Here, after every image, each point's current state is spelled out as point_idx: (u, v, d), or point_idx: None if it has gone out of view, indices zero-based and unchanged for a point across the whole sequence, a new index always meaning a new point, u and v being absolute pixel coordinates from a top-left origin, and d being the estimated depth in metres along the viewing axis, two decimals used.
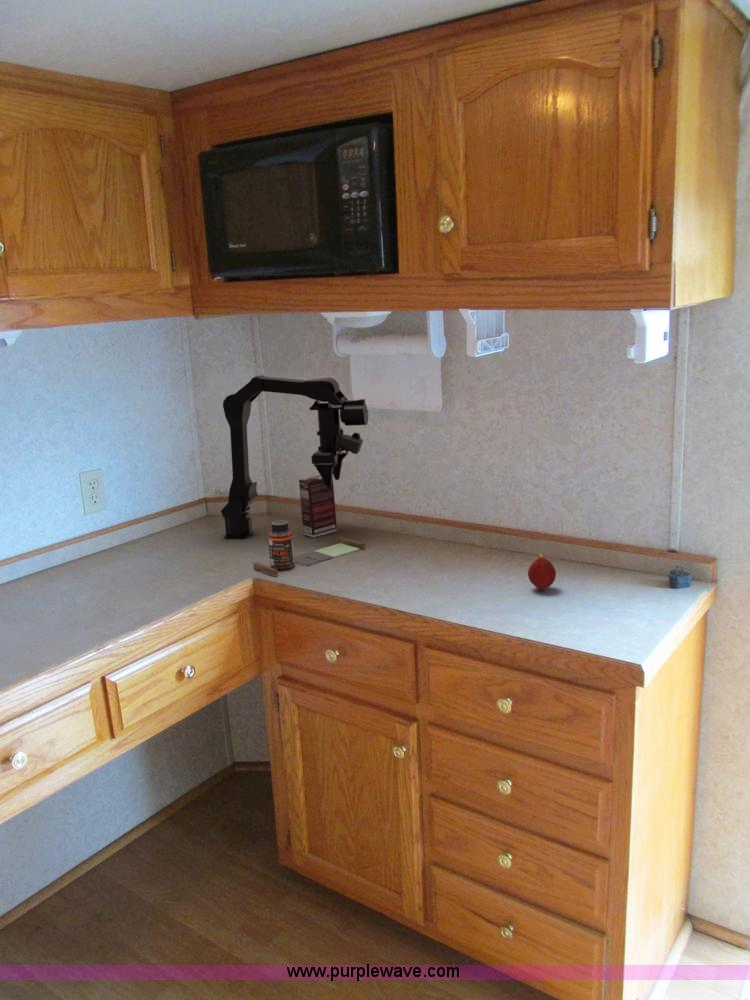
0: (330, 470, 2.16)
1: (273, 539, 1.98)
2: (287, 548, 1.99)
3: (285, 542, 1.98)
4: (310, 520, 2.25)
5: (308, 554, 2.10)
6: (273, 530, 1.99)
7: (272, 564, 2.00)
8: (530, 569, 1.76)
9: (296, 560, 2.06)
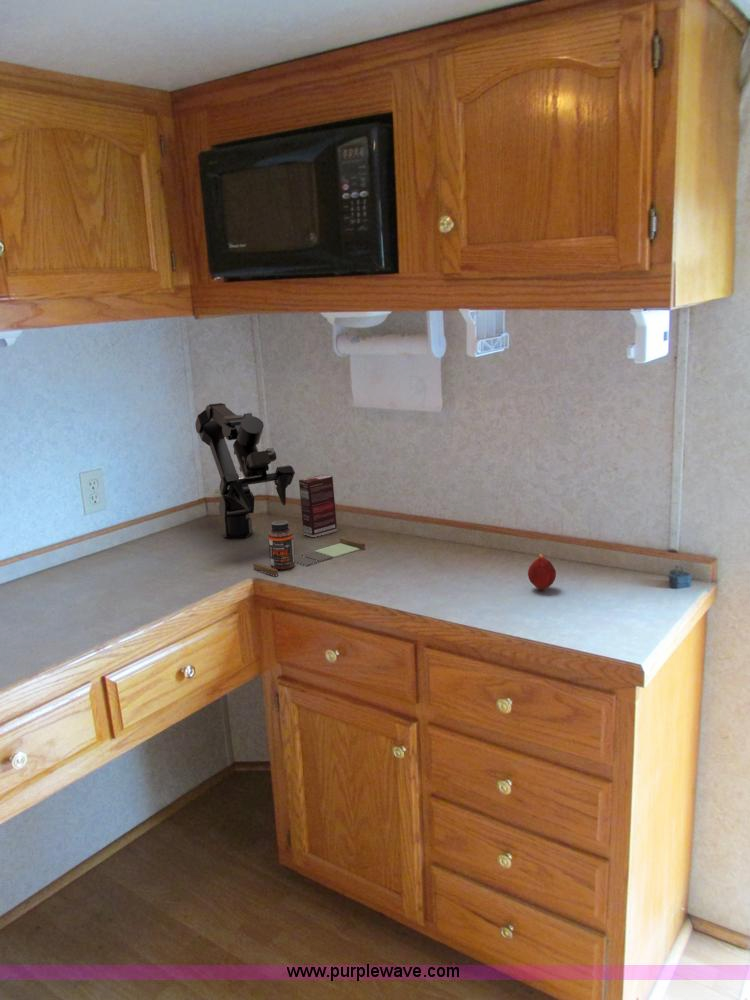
0: (238, 492, 2.05)
1: (273, 539, 1.98)
2: (287, 548, 1.99)
3: (285, 542, 1.98)
4: (310, 520, 2.25)
5: (308, 554, 2.10)
6: (273, 530, 1.99)
7: (272, 564, 2.00)
8: (530, 569, 1.76)
9: (296, 560, 2.06)
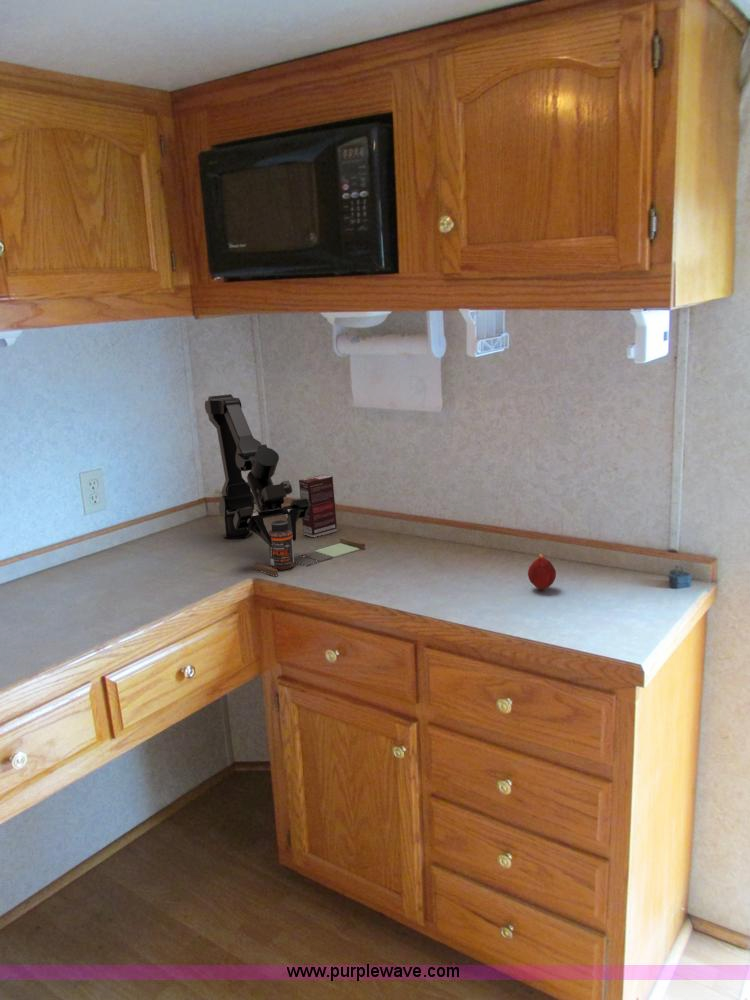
0: (258, 526, 1.99)
1: (273, 539, 1.98)
2: (287, 548, 1.99)
3: (285, 542, 1.98)
4: (310, 520, 2.25)
5: (308, 554, 2.10)
6: (273, 530, 1.99)
7: (272, 564, 2.00)
8: (530, 569, 1.76)
9: (296, 560, 2.06)
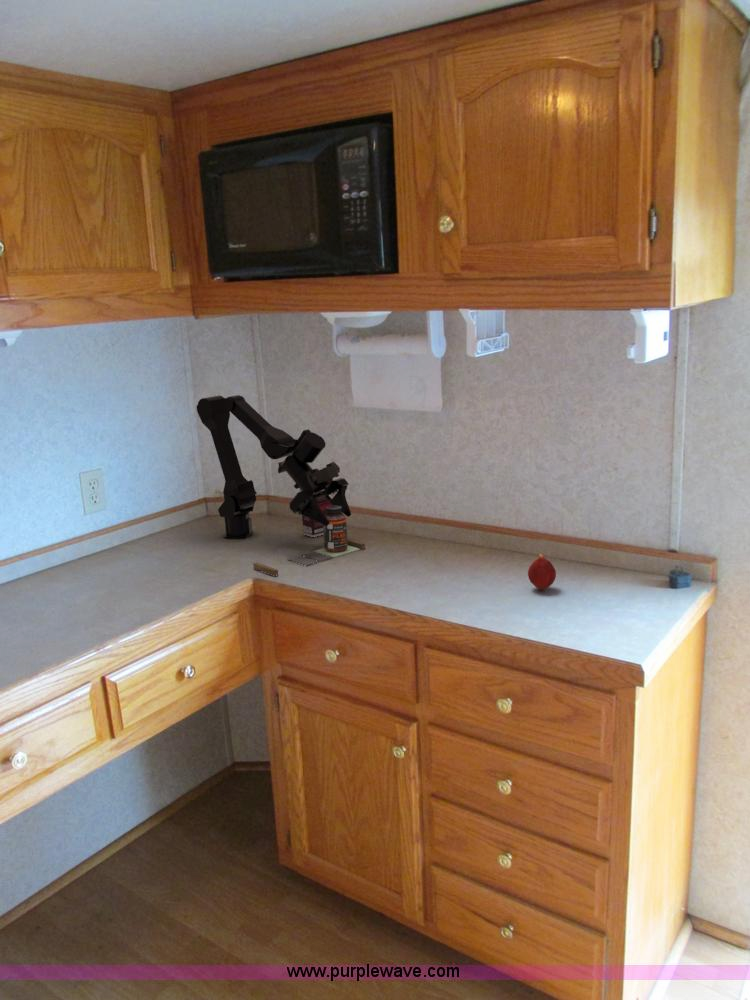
0: (314, 508, 2.06)
1: (333, 523, 2.08)
2: (345, 530, 2.10)
3: (344, 524, 2.10)
4: (310, 520, 2.25)
5: (308, 554, 2.10)
6: (331, 514, 2.09)
7: (331, 547, 2.10)
8: (530, 569, 1.76)
9: (296, 560, 2.06)
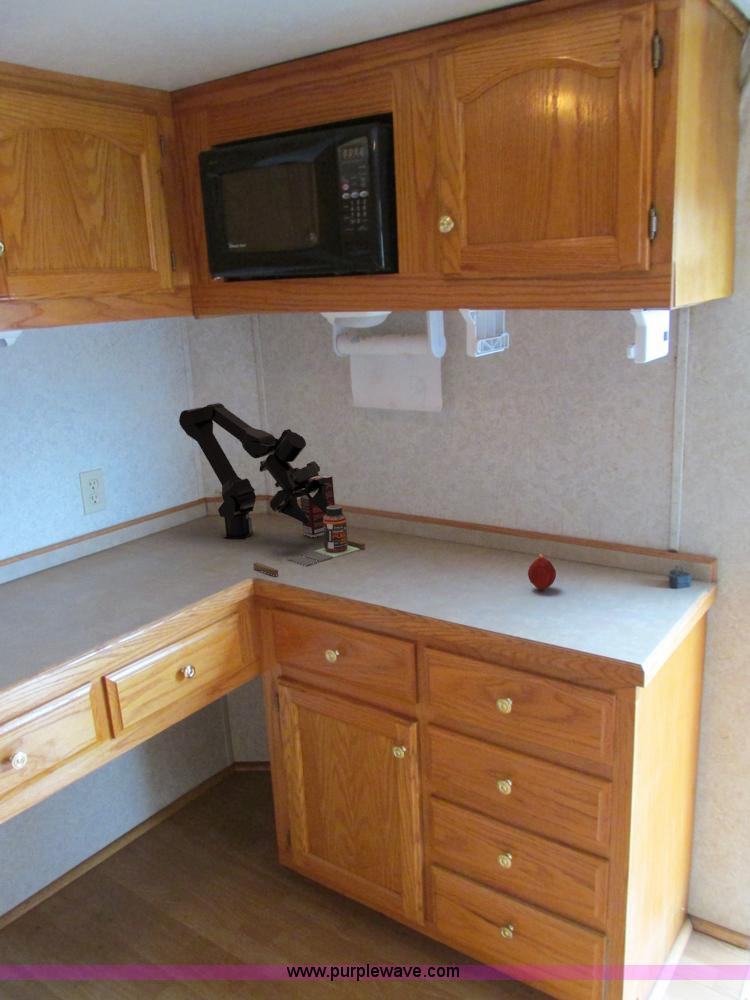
0: (294, 507, 2.09)
1: (333, 523, 2.08)
2: (345, 530, 2.10)
3: (344, 525, 2.10)
4: (310, 520, 2.25)
5: (308, 554, 2.10)
6: (331, 514, 2.09)
7: (331, 547, 2.10)
8: (530, 569, 1.76)
9: (296, 560, 2.06)
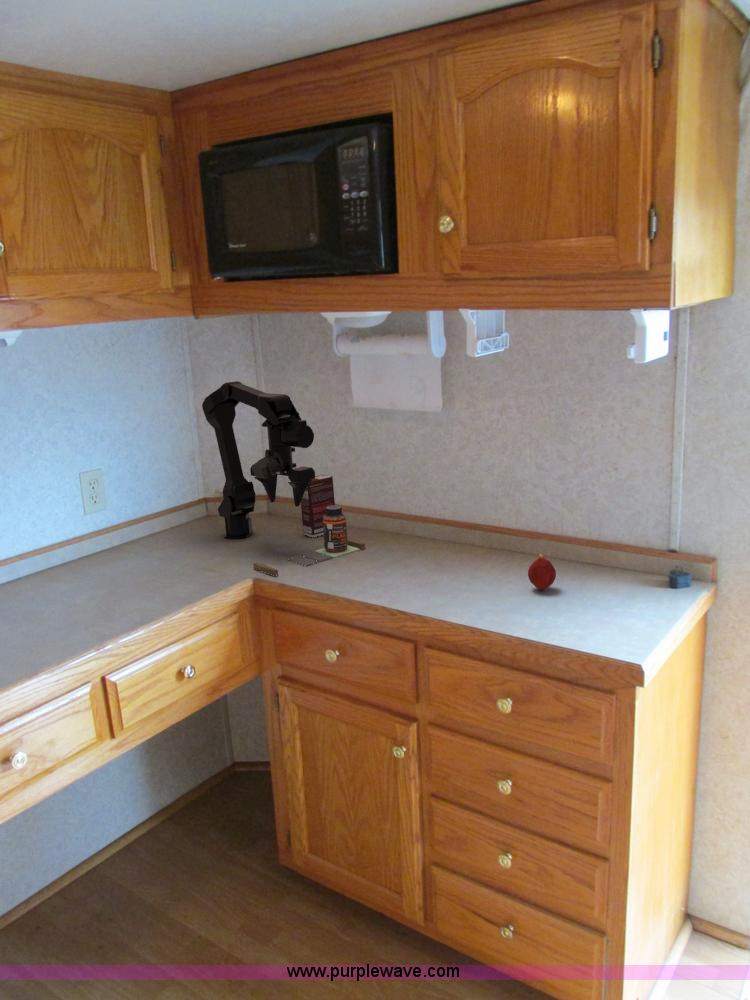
0: None
1: (333, 523, 2.08)
2: (345, 530, 2.10)
3: (344, 525, 2.10)
4: (310, 520, 2.25)
5: (308, 554, 2.10)
6: (331, 514, 2.09)
7: (331, 547, 2.10)
8: (530, 569, 1.76)
9: (296, 560, 2.06)
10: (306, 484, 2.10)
